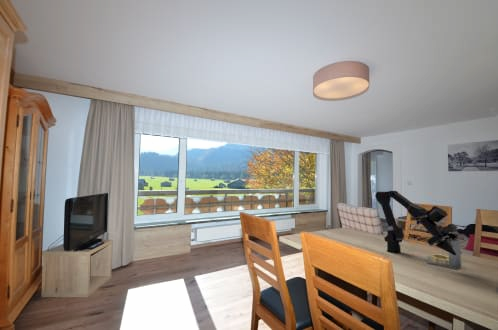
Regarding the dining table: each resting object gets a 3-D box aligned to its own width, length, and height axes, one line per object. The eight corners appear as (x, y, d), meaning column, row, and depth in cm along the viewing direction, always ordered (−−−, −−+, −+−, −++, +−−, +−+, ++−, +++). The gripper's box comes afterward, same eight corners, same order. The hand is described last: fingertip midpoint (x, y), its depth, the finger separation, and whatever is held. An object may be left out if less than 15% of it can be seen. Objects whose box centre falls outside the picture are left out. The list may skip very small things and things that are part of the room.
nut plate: (427, 263, 119) (427, 257, 120) (427, 257, 128) (427, 251, 129) (457, 269, 112) (457, 262, 112) (455, 263, 121) (455, 256, 121)
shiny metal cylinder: (449, 267, 108) (448, 240, 109) (449, 264, 111) (448, 238, 112) (462, 269, 105) (460, 242, 106) (461, 266, 108) (459, 240, 109)
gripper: (433, 219, 110) (462, 248, 99) (454, 217, 117) (483, 244, 106) (416, 231, 117) (442, 259, 106) (437, 229, 124) (463, 255, 113)
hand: (458, 254), depth 107 cm, fingers closed on shiny metal cylinder, 4 cm apart
